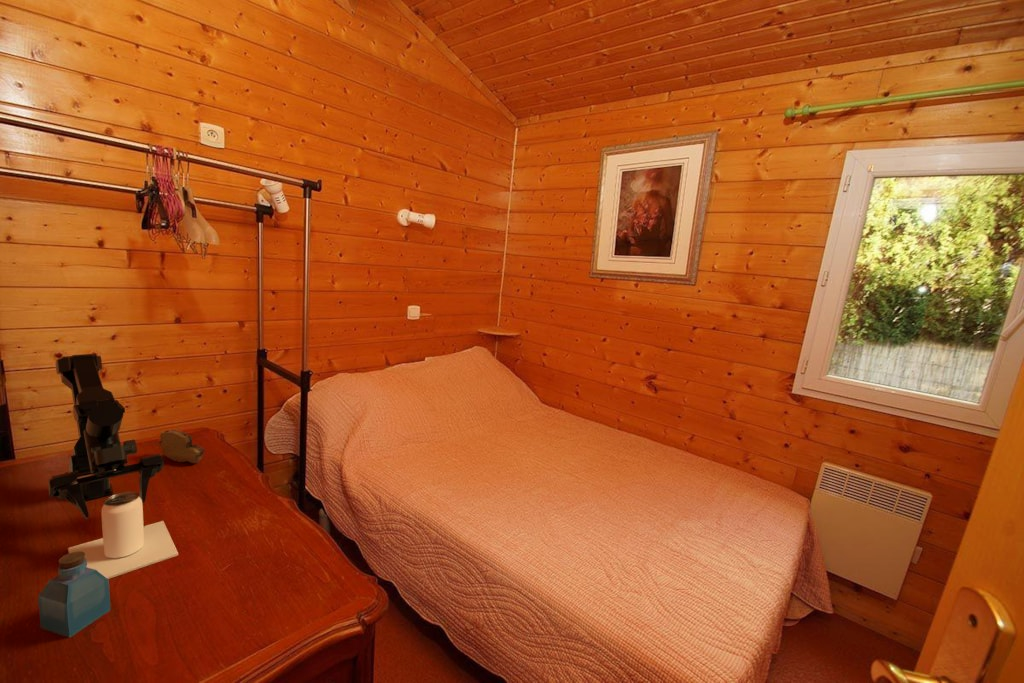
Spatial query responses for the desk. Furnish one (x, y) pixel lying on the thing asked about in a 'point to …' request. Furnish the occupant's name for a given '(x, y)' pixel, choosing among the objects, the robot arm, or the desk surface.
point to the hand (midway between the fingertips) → (116, 510)
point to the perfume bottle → (73, 597)
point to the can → (122, 525)
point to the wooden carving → (179, 447)
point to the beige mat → (152, 552)
